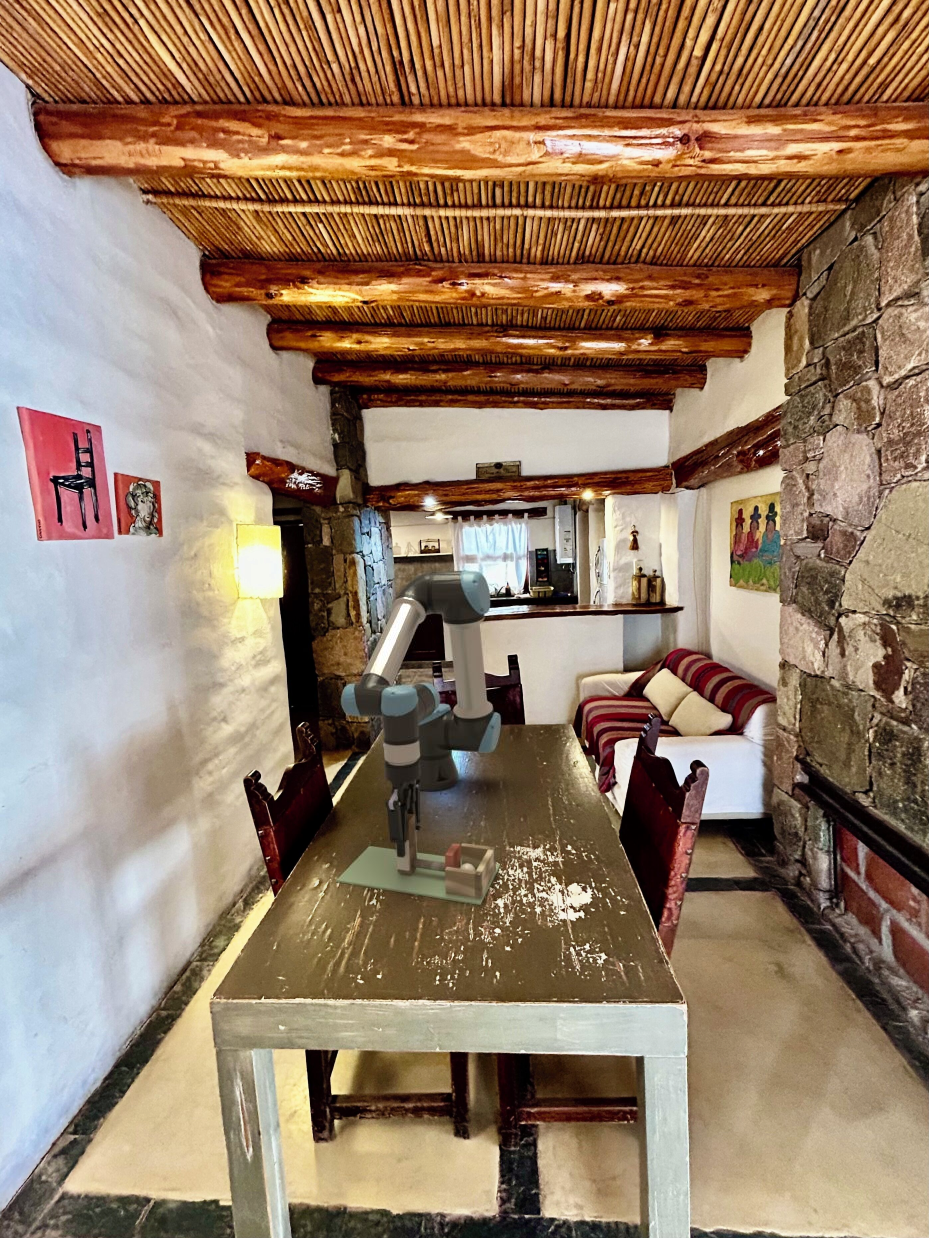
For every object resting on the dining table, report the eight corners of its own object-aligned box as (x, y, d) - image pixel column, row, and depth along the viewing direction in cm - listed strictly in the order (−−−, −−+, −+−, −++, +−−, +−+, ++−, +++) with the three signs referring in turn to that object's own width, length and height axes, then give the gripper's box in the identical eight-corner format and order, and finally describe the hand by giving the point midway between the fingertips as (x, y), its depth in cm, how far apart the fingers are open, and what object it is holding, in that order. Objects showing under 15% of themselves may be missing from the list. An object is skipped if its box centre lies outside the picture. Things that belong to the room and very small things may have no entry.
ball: (480, 871, 123) (467, 878, 124) (471, 857, 123) (458, 864, 124) (475, 880, 120) (462, 887, 121) (466, 866, 120) (453, 872, 121)
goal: (463, 864, 128) (462, 843, 128) (495, 869, 126) (495, 847, 126) (445, 893, 118) (444, 869, 117) (480, 898, 116) (480, 874, 115)
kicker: (405, 862, 129) (402, 810, 128) (461, 870, 125) (458, 817, 124) (395, 874, 125) (393, 820, 123) (453, 883, 121) (450, 827, 119)
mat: (369, 847, 138) (369, 845, 138) (500, 865, 128) (500, 863, 128) (336, 881, 124) (336, 879, 124) (480, 905, 114) (480, 903, 114)
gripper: (402, 745, 133) (406, 844, 135) (368, 771, 117) (374, 882, 120) (432, 748, 130) (437, 848, 133) (402, 775, 115) (408, 887, 118)
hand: (407, 864), depth 126 cm, fingers closed on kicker, 3 cm apart
